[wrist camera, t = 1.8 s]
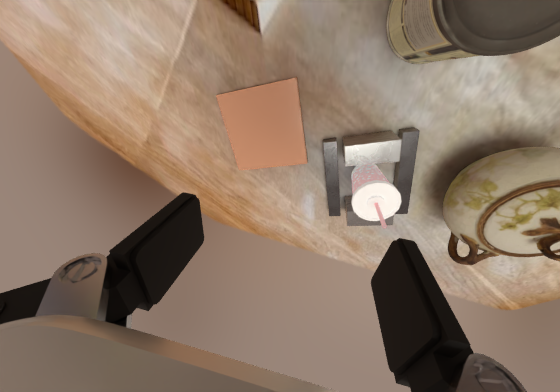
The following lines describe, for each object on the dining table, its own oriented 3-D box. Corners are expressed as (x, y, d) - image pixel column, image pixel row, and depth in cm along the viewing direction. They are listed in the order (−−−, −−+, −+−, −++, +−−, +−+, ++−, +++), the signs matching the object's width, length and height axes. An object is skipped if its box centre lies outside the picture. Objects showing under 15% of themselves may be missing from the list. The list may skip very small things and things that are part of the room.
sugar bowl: (459, 241, 37) (526, 327, 25) (394, 202, 36) (430, 271, 23) (601, 155, 26) (847, 229, 14) (516, 94, 25) (704, 115, 12)
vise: (414, 127, 29) (428, 136, 25) (403, 207, 36) (413, 224, 32) (323, 139, 33) (322, 149, 28) (329, 210, 39) (329, 226, 35)
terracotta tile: (296, 77, 29) (296, 77, 28) (307, 161, 35) (307, 163, 34) (218, 94, 32) (215, 95, 32) (240, 168, 39) (239, 170, 38)
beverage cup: (375, 194, 36) (398, 252, 24) (341, 185, 36) (347, 238, 24) (392, 163, 32) (428, 213, 21) (354, 153, 33) (369, 197, 21)
